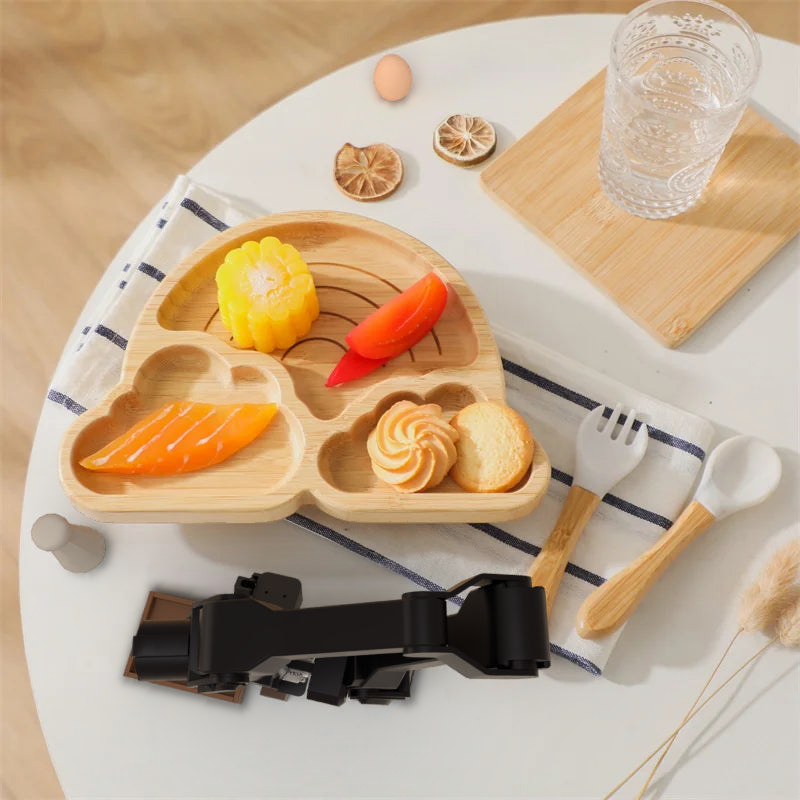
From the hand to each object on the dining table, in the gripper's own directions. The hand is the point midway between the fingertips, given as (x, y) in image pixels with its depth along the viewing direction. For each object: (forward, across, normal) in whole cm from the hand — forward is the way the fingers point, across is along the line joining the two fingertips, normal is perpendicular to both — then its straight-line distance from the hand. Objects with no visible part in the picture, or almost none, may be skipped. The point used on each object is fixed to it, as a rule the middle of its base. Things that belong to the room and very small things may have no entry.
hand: (278, 665), depth 105 cm
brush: (+4, 0, 0) cm, 4 cm away
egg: (+4, +6, -85) cm, 85 cm away
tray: (+4, +11, 0) cm, 12 cm away
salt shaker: (+4, +28, -8) cm, 30 cm away
